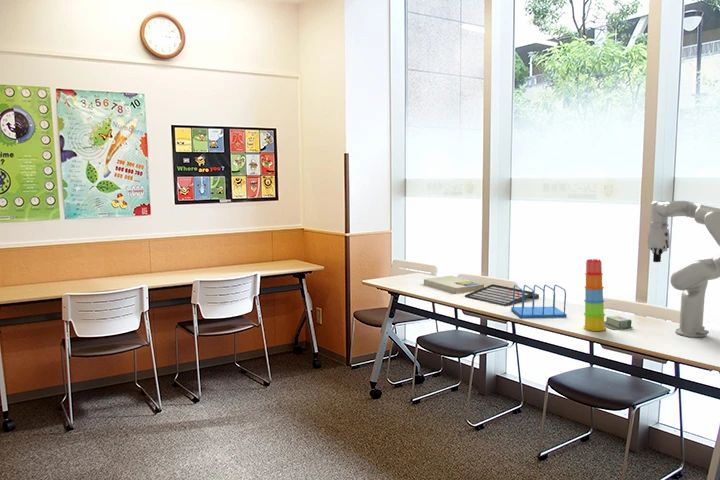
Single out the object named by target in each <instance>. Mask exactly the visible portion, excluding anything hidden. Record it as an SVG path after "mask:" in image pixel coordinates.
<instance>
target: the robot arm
mask: <svg viewBox="0 0 720 480" xmlns="http://www.w3.org/2000/svg"><path fill="white" fill-rule="evenodd" d="M669 217H671V218H673V217H688V218H692V219H694V221H695V222H696V223H697V224H700V225H705V228H706V229H707V231H708V232H709V234H710V235H711V237H712V238H713V240H714V242H716V244H717V245H718V247H720V208H719V207H714V206H708V205H705V204H701V203H698V202H693V201H689V200H688V201H686V200H671V201H667V200H653V201H652V202H651V209H650V225H649V226H650V227H649V229H648V233H647V241H646V242H647V243H646V244H647V249H648V250H651V252H652V254H653V256H652V257H653V260H652V261H653V263H661V262H662V261H661V260H662V259H661V258H662V255H663V253H665V252H668V249H669V248H670V245H671V244H670V243H671V240H670V239H671V238H670V237H671V236H670V235H671V234H670V229H669V228H668V227H669V224H668V221H669ZM719 278H720V254H719V255H716V256H714V257H711V258H705V259H698V260H694V261H693V262H690V263H688V264H686V265H685V266H682V267H681V268H679V269H677V270H675V271H674V272H673V273H672V274H671V276H670V284H671V286H672V288H674V289H675V290H677V291H682V292H681V299H680V311H679V312H680V313H679V328H676V329H675V333H676V335H677V334H678V335H679V336H682V337H688V338H704V337H706V336H707V335H708V334H709V333H710V331H709V330H707V329H705V326H704V325H703V324H704V311H705V296H706V291H707V287H708V282H709V281H712V280H715V279H719Z"/></svg>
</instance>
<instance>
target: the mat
mask: <svg viewBox="0 0 720 480" xmlns="http://www.w3.org/2000/svg"><path fill="white" fill-rule="evenodd" d="M604 327H606V329H609V330H612V331H615V330H616V331H617V330H625V329H626V328H621V329H619V328H617V327H614V326H612V325H609V324H606V323H604ZM630 329H633V326H631V328H630Z"/></svg>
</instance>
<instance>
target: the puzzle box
mask: <svg viewBox="0 0 720 480" xmlns="http://www.w3.org/2000/svg"><path fill="white" fill-rule="evenodd" d="M423 285H425V286H427V287H432V288H434V289H437V290H441V291H444V292H449V293H452V294H456V295H457V294H458V295H459V294H465V293H472V292H474V291H477V290H479V289H482V288H484V287H485V284H484V283H480V282H476V281H474V280H470V279H465V278H461V277H457V276H454V275H445V276H440V277H439V276H438V277H431V278H424V279H423Z"/></svg>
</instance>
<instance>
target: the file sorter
mask: <svg viewBox="0 0 720 480" xmlns="http://www.w3.org/2000/svg"><path fill="white" fill-rule="evenodd" d="M536 287H537V288H538V289H540V290H542V292H543V296H542V299H543V301H542V306H535V299H534V295H535V294H536V292H535V291H536ZM546 287H547V288H549V289H550V290H552V292H553V295H552V296H553V299H552V306H545V298H546V297H545V294H546V293H545V292H546V290H545V288H546ZM556 287H558V288H559V289H562V291H564V301H563V305H564V306H563V311H562V310H560V309H559V308H557V307H556ZM513 288H514V290H513V304H512V306H511V308H510V310H511V311H512V312H513V313H515V315H517V316H518V317H519V318H521V319H529V318H530V319H531V318H567V316H568V315H567V313H566V303H567V298H566V297H567V291H566V289H565V288H563V287H562V286H560V285H558V284H554V286H553V287H551V286H549V285H547V284H544V285H543V288H542V287H541V286H540V285H537V284H534V286H533V288H532V287H530V286H528V285H527V284H524V285H523V287H522V288H523V289H522V288H521V287H520V286H518V285H516V284H515V285H513ZM516 288H517V289H520V290H522V300H521V306H515V303H514V293H515V289H516ZM525 288H528V289H529V290H531V292H533V299H532V306H525V299H524V291H526V290H525Z"/></svg>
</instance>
